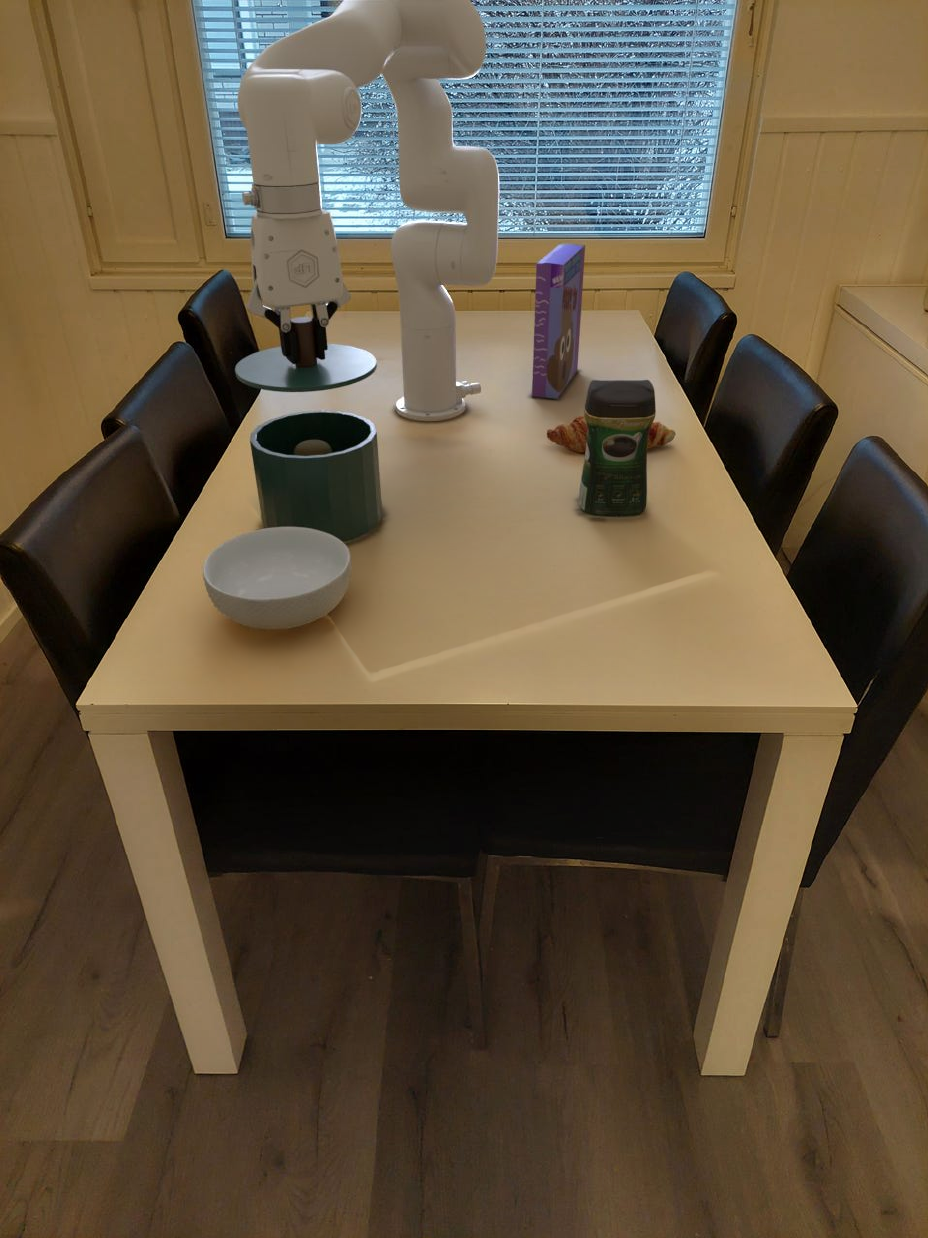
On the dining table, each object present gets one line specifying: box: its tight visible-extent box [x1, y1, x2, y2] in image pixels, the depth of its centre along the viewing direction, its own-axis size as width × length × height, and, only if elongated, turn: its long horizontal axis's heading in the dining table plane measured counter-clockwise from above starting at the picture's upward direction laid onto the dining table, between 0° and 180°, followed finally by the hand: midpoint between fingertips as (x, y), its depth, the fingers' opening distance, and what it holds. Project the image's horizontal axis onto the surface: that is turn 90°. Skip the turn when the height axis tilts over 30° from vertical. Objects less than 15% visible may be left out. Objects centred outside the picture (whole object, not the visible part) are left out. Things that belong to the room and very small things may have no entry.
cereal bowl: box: [202, 527, 352, 630], centre depth 103 cm, size 17×17×7 cm
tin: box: [249, 409, 383, 543], centre depth 121 cm, size 17×17×13 cm
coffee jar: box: [578, 379, 657, 518], centre depth 122 cm, size 10×8×19 cm
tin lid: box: [234, 316, 378, 393], centre depth 111 cm, size 18×18×7 cm
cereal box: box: [531, 242, 586, 401], centre depth 165 cm, size 17×5×24 cm, turn 161°
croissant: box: [546, 415, 677, 453], centre depth 144 cm, size 21×10×8 cm, turn 94°
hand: (305, 357), depth 111 cm, fingers closed on tin lid, 2 cm apart
